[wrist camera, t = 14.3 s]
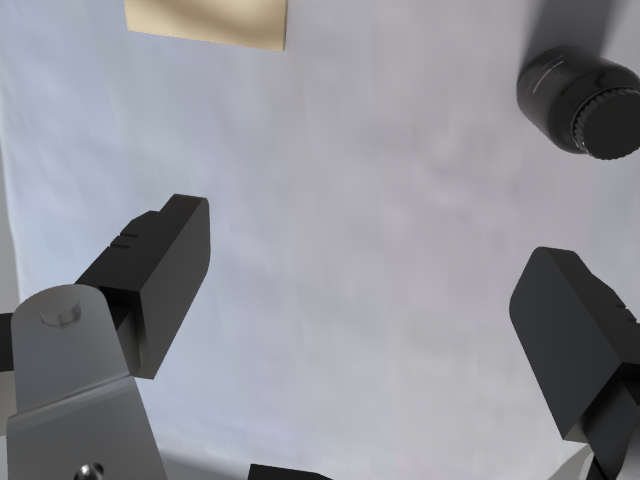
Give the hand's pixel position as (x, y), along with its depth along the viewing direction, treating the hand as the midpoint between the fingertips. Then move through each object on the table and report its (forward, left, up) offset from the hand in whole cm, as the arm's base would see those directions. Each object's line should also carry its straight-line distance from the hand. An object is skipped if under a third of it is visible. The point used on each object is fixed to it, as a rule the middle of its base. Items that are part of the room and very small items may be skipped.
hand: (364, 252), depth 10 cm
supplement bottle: (+1, +18, -33) cm, 38 cm away
